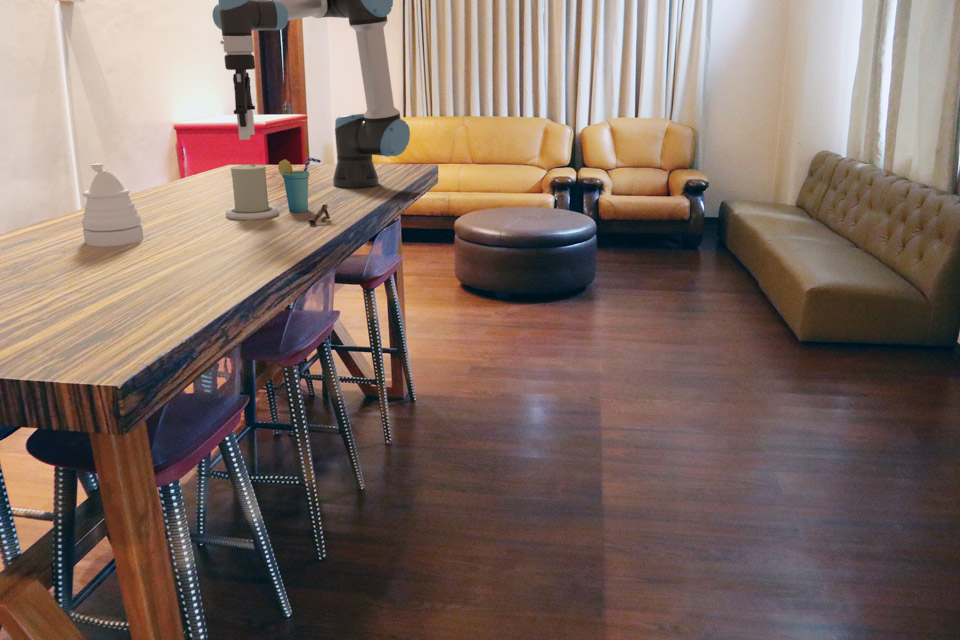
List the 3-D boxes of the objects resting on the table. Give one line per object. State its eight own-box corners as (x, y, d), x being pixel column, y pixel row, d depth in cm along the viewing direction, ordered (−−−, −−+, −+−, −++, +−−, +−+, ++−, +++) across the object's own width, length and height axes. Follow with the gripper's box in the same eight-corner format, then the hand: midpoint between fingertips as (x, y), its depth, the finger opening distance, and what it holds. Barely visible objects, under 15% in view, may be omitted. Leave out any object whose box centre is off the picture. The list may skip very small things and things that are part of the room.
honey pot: (72, 244, 190) (59, 166, 184) (114, 233, 201) (103, 160, 195) (115, 248, 185) (103, 169, 180) (155, 237, 197) (145, 162, 191)
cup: (330, 209, 230) (326, 156, 225) (317, 214, 223) (313, 159, 218) (286, 207, 234) (282, 154, 229) (272, 212, 227) (267, 157, 222)
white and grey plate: (280, 209, 230) (279, 204, 230) (276, 219, 217) (276, 213, 217) (229, 211, 228) (228, 205, 228) (222, 221, 215) (222, 215, 214)
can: (274, 206, 226) (270, 163, 222) (262, 212, 217) (258, 167, 214) (242, 206, 227) (238, 162, 223) (229, 212, 218) (224, 167, 215)
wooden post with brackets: (333, 216, 216) (328, 202, 213) (318, 233, 211) (313, 219, 208) (327, 216, 217) (323, 201, 214) (313, 233, 211) (307, 218, 208)
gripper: (229, 53, 222) (237, 132, 228) (217, 54, 198) (227, 142, 205) (257, 53, 223) (265, 132, 230) (249, 53, 199) (258, 141, 206)
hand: (247, 137), depth 217 cm, fingers open, 13 cm apart
